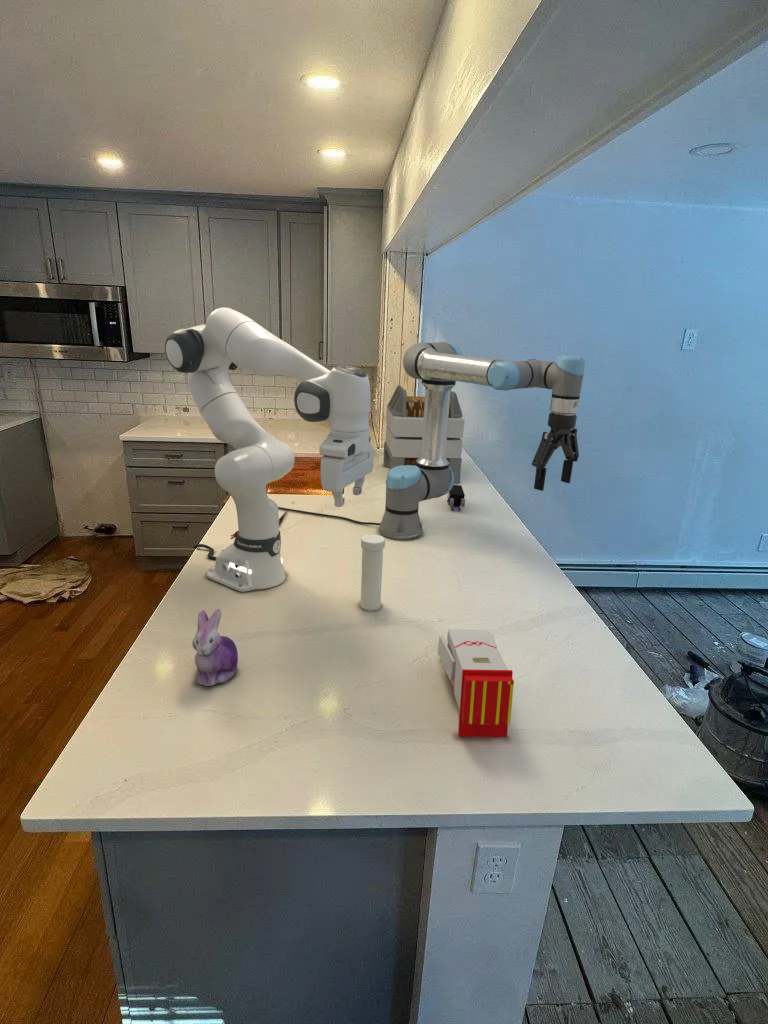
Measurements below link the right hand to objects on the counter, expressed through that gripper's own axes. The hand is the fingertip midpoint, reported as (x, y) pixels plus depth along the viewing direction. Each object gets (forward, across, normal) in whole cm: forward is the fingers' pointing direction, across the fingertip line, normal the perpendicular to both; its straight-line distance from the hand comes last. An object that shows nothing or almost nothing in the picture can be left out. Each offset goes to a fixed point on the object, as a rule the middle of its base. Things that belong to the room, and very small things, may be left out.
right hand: (552, 485), depth 166 cm
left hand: (-5, -66, +12) cm, 67 cm away
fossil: (+28, +45, +147) cm, 156 cm away
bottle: (+28, -55, +15) cm, 64 cm away
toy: (+28, -62, -26) cm, 72 cm away
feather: (+28, -37, +87) cm, 99 cm away
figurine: (+28, -100, +11) cm, 105 cm away
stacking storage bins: (+28, +46, +101) cm, 115 cm away
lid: (+9, -55, +15) cm, 58 cm away
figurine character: (+28, +24, +57) cm, 68 cm away
